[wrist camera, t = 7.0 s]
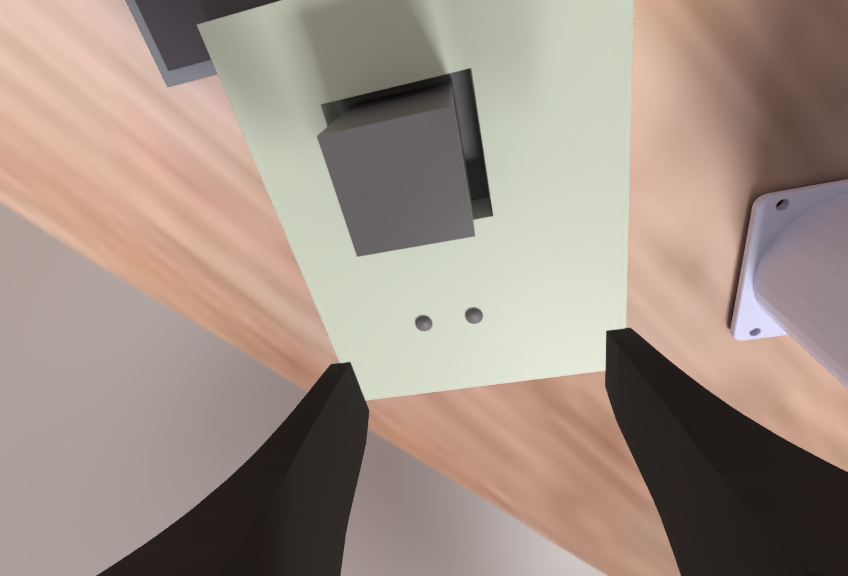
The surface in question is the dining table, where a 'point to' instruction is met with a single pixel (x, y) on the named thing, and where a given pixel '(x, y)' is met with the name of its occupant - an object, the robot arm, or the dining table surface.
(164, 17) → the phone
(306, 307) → the dining table surface
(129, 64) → the dining table surface
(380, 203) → the grey rectangular block
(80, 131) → the dining table surface
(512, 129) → the outlet plate
